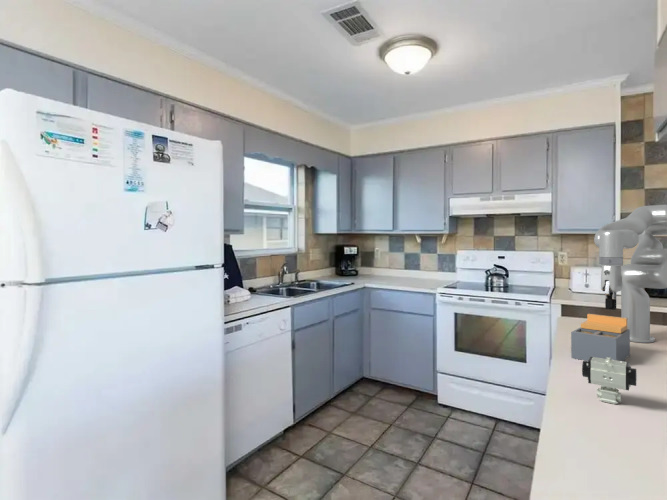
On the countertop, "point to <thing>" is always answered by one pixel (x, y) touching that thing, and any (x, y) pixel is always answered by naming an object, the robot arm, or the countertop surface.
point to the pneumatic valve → (609, 377)
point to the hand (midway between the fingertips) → (610, 309)
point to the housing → (600, 344)
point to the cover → (605, 323)
